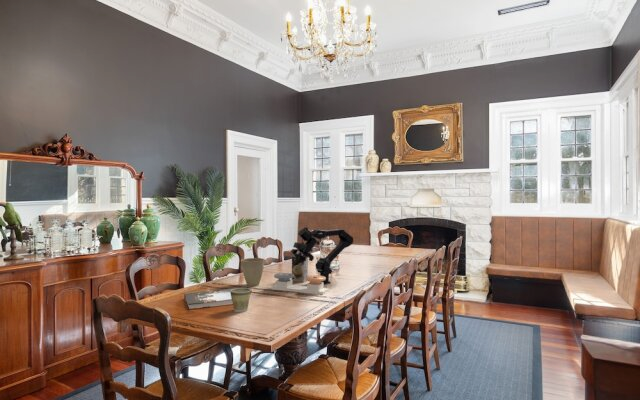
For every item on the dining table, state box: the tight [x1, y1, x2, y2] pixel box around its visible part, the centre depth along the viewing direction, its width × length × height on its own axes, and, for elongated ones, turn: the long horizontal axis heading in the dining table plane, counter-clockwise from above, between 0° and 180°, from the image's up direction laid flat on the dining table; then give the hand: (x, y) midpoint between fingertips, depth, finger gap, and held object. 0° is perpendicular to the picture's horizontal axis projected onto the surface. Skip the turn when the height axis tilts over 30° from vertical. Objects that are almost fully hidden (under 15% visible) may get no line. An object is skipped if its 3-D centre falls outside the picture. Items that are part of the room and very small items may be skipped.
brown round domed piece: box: [305, 274, 326, 285], centre depth 238 cm, size 12×12×6 cm
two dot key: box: [273, 272, 294, 282], centre depth 246 cm, size 12×12×6 cm
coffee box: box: [291, 255, 309, 283], centre depth 268 cm, size 9×6×16 cm
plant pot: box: [240, 257, 266, 287], centre depth 257 cm, size 15×15×16 cm
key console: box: [270, 279, 330, 295], centre depth 242 cm, size 34×9×5 cm, turn 67°
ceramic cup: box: [229, 287, 253, 313], centre depth 202 cm, size 13×10×10 cm
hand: (293, 265), depth 249 cm, fingers closed
